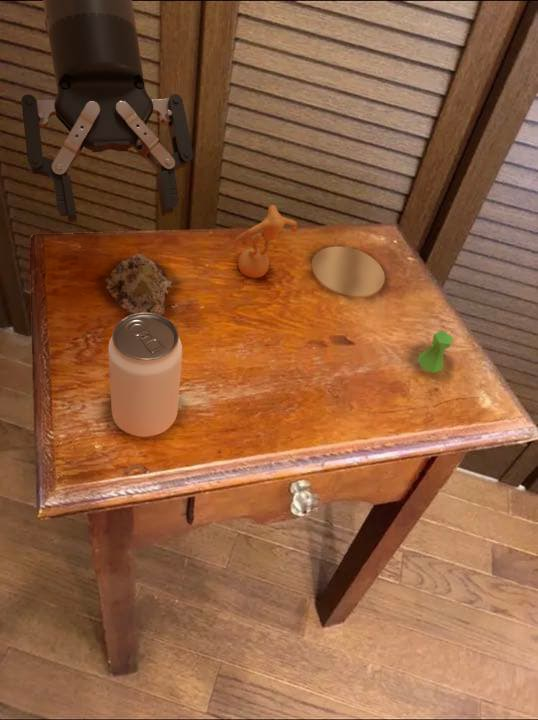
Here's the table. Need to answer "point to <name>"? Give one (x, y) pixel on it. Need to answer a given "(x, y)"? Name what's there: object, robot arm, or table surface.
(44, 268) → the table surface
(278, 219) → the figurine
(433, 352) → the game piece
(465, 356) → the table surface
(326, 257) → the ash disc
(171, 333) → the can
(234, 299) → the table surface
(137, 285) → the mineral rock
